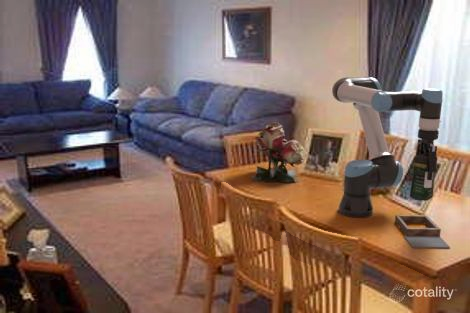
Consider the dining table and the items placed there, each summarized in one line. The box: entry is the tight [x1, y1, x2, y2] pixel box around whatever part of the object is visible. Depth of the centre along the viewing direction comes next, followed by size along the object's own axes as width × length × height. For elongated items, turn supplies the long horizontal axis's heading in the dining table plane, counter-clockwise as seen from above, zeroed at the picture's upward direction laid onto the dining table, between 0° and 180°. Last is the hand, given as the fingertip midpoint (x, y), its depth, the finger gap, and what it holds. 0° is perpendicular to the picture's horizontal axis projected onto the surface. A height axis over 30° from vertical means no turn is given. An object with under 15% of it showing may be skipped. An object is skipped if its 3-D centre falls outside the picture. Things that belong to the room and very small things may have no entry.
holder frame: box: [394, 214, 441, 237], centre depth 208 cm, size 13×15×3 cm
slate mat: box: [403, 235, 451, 249], centre depth 195 cm, size 14×10×1 cm
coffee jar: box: [409, 153, 438, 202], centre depth 201 cm, size 10×8×19 cm
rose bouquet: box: [251, 122, 306, 184], centre depth 277 cm, size 26×29×30 cm
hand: (422, 183), depth 202 cm, fingers closed on coffee jar, 9 cm apart
